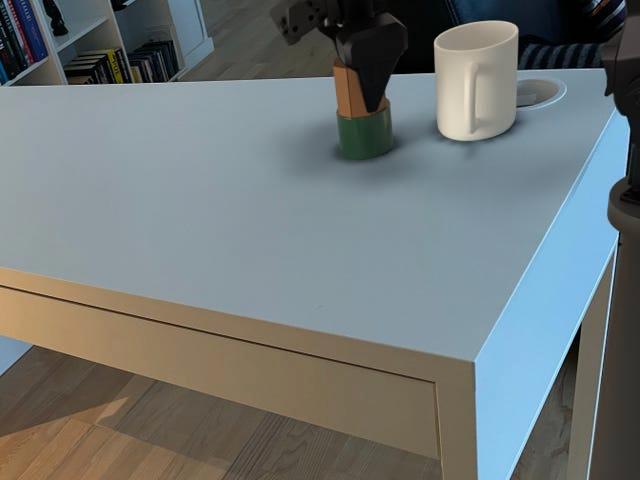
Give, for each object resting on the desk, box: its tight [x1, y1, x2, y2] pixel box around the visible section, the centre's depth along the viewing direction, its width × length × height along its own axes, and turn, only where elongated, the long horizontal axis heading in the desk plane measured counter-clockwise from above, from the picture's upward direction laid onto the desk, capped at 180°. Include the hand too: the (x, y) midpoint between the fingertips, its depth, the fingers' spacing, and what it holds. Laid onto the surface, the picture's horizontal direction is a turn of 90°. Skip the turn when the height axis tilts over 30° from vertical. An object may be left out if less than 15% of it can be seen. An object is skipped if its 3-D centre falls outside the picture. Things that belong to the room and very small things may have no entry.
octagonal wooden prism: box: [332, 57, 387, 118], centre depth 86 cm, size 5×5×6 cm
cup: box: [433, 20, 519, 142], centre depth 83 cm, size 8×12×10 cm
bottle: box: [335, 97, 394, 160], centre depth 88 cm, size 6×6×8 cm
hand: (361, 97), depth 87 cm, fingers open, 9 cm apart
